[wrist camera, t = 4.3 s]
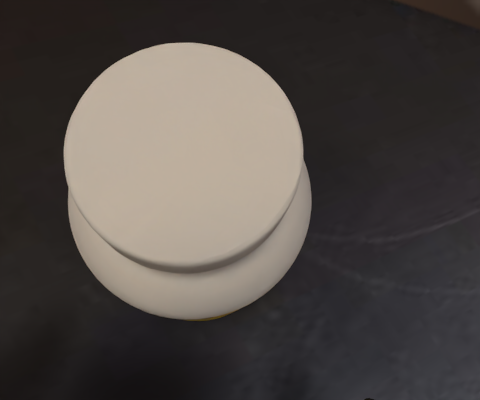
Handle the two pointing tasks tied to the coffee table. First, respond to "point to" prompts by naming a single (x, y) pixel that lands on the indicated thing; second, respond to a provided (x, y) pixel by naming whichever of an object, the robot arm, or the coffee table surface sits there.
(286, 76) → the coffee table surface
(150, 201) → the pill bottle
